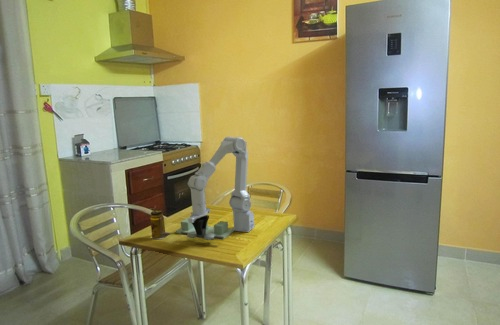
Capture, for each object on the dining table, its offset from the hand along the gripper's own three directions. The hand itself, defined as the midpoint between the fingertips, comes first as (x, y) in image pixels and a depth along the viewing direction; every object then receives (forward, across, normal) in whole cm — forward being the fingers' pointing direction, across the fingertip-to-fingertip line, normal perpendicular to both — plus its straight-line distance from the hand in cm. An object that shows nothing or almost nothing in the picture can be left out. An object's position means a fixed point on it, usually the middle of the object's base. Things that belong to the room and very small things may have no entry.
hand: (201, 233), depth 144 cm
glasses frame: (+2, 0, 0) cm, 2 cm away
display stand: (+4, -11, -5) cm, 13 cm away
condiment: (+4, -1, -23) cm, 23 cm away
